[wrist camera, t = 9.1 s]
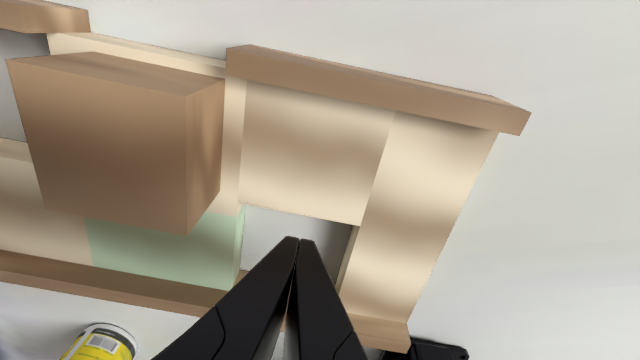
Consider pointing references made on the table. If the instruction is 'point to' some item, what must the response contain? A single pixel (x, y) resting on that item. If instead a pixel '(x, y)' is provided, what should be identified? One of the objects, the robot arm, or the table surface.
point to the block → (121, 137)
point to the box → (269, 181)
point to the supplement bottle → (102, 344)
